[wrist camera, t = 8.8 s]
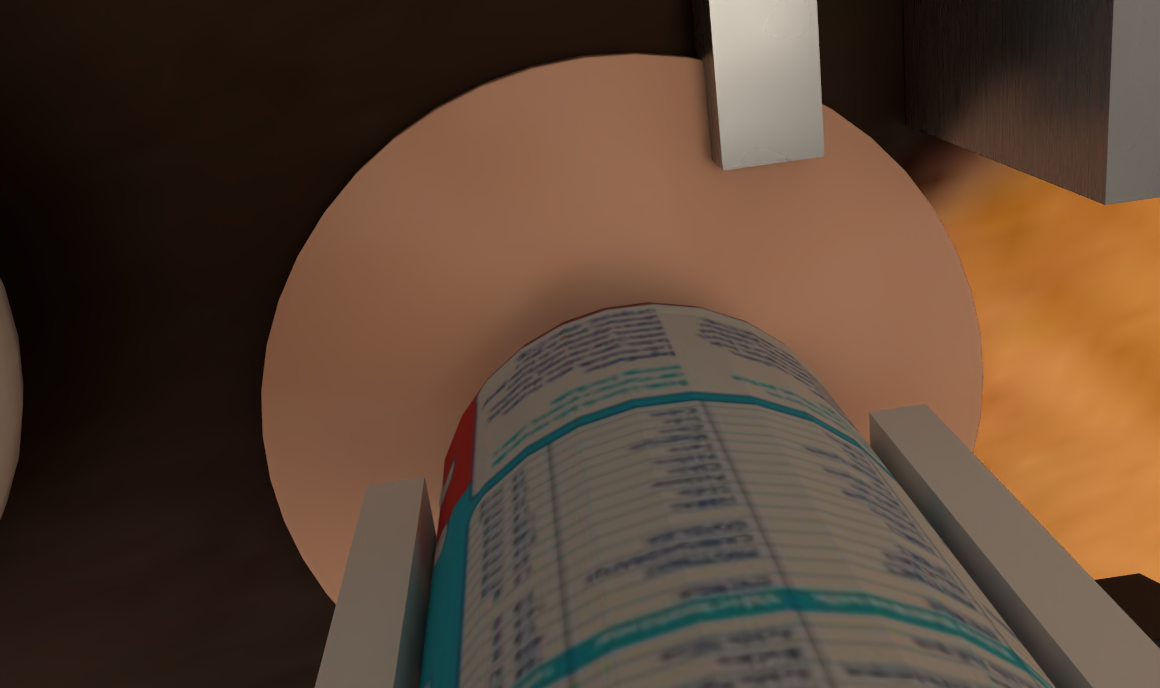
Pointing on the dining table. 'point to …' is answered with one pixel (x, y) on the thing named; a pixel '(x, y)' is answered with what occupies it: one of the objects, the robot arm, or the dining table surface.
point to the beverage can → (689, 527)
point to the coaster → (588, 273)
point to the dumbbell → (956, 85)
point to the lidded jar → (9, 398)
